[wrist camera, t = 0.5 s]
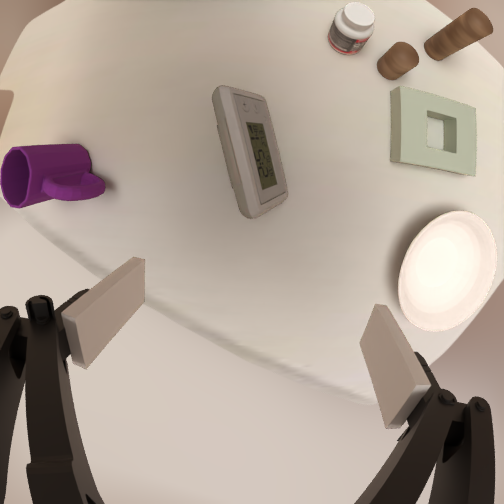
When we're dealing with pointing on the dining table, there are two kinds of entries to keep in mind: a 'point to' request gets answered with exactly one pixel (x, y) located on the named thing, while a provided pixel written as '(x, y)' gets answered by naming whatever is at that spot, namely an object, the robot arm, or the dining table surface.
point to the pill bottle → (351, 28)
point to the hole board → (415, 131)
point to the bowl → (447, 271)
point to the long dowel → (458, 34)
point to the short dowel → (397, 61)
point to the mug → (48, 175)
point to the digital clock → (249, 150)
